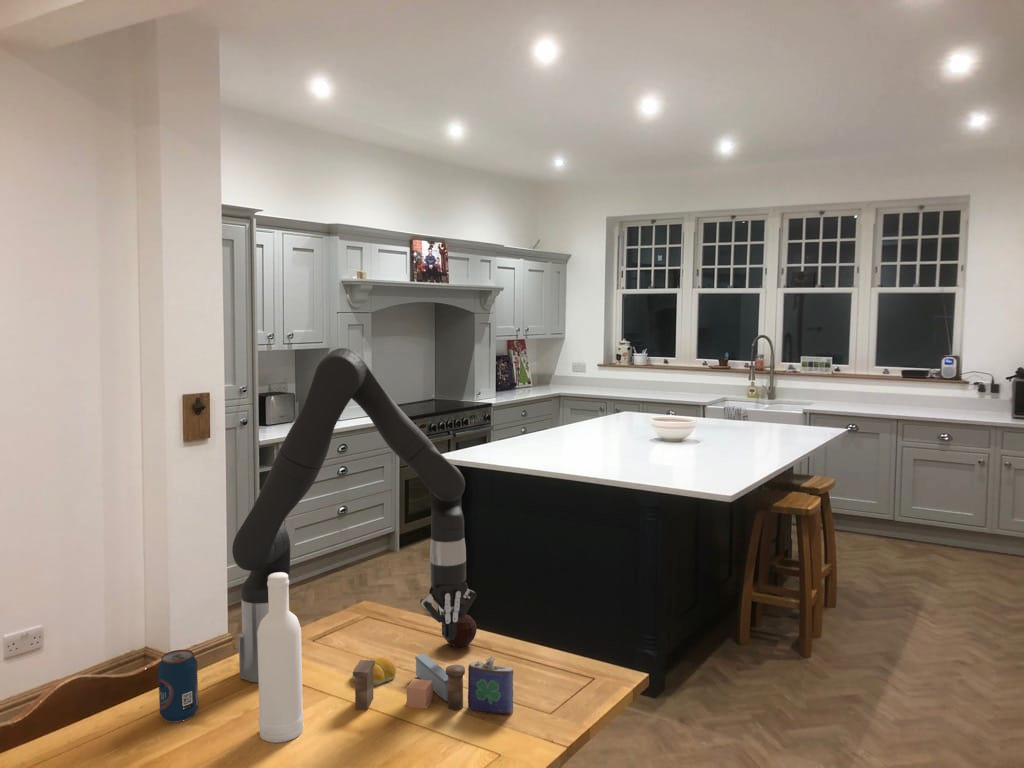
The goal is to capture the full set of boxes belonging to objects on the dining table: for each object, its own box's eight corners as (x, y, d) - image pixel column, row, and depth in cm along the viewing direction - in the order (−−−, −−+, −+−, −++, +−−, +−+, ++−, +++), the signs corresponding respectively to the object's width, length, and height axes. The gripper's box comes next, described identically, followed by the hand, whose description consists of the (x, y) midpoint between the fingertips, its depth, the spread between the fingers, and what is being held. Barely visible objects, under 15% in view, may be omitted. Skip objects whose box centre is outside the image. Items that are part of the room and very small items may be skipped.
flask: (514, 710, 159) (514, 657, 158) (510, 717, 156) (510, 663, 155) (470, 704, 162) (469, 652, 161) (465, 711, 159) (465, 658, 158)
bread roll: (403, 677, 174) (403, 659, 174) (369, 691, 168) (369, 672, 167) (379, 665, 180) (379, 648, 180) (346, 678, 173) (345, 660, 173)
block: (425, 709, 160) (425, 689, 159) (406, 706, 161) (406, 687, 160) (432, 699, 164) (432, 680, 163) (413, 697, 165) (413, 678, 164)
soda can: (153, 716, 156) (151, 656, 155) (187, 703, 162) (185, 645, 161) (170, 728, 152) (168, 666, 151) (205, 714, 157) (203, 654, 156)
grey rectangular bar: (455, 699, 163) (455, 678, 163) (445, 702, 162) (445, 681, 161) (424, 673, 175) (424, 653, 175) (415, 675, 174) (415, 655, 173)
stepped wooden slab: (353, 710, 159) (353, 672, 158) (360, 697, 164) (360, 659, 164) (368, 710, 159) (368, 672, 158) (375, 697, 164) (374, 660, 164)
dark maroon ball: (475, 637, 196) (475, 606, 195) (478, 652, 186) (478, 620, 186) (441, 638, 194) (441, 607, 194) (443, 654, 185) (443, 622, 185)
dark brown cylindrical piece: (444, 711, 159) (444, 672, 158) (447, 702, 162) (447, 664, 162) (463, 711, 158) (463, 673, 158) (466, 702, 162) (466, 665, 161)
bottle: (310, 723, 154) (307, 569, 151) (292, 745, 146) (289, 583, 143) (271, 720, 155) (267, 567, 152) (251, 741, 147) (247, 580, 145)
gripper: (427, 568, 164) (428, 651, 165) (484, 558, 171) (485, 638, 172) (412, 559, 170) (413, 639, 172) (467, 549, 177) (468, 626, 179)
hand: (449, 638), depth 172 cm, fingers closed
